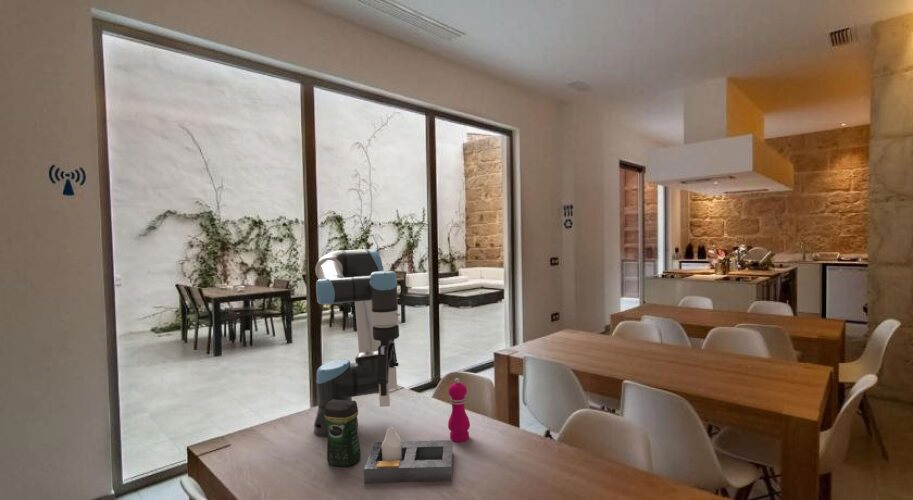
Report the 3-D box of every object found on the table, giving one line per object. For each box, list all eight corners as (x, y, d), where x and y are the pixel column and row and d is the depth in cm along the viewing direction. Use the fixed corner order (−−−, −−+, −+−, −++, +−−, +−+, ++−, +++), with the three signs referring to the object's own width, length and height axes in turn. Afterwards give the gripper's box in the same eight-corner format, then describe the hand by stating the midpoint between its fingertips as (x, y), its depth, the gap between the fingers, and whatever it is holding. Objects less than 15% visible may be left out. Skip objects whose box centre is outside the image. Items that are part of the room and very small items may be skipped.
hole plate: (375, 455, 144) (374, 441, 144) (452, 452, 144) (452, 438, 144) (364, 483, 128) (363, 467, 128) (451, 480, 128) (450, 465, 128)
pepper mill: (468, 443, 150) (465, 382, 149) (446, 442, 151) (443, 381, 150) (472, 433, 157) (469, 375, 156) (451, 432, 158) (448, 374, 157)
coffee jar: (364, 456, 144) (361, 397, 143) (351, 469, 136) (348, 407, 135) (337, 453, 147) (334, 395, 146) (322, 465, 139) (319, 404, 138)
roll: (391, 433, 132) (376, 429, 135) (393, 474, 132) (378, 470, 135) (404, 425, 137) (389, 421, 140) (406, 465, 137) (391, 460, 140)
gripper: (391, 334, 122) (395, 413, 123) (404, 315, 147) (407, 381, 148) (363, 335, 122) (367, 414, 123) (380, 316, 147) (383, 382, 148)
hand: (388, 396), depth 135 cm, fingers open, 13 cm apart
